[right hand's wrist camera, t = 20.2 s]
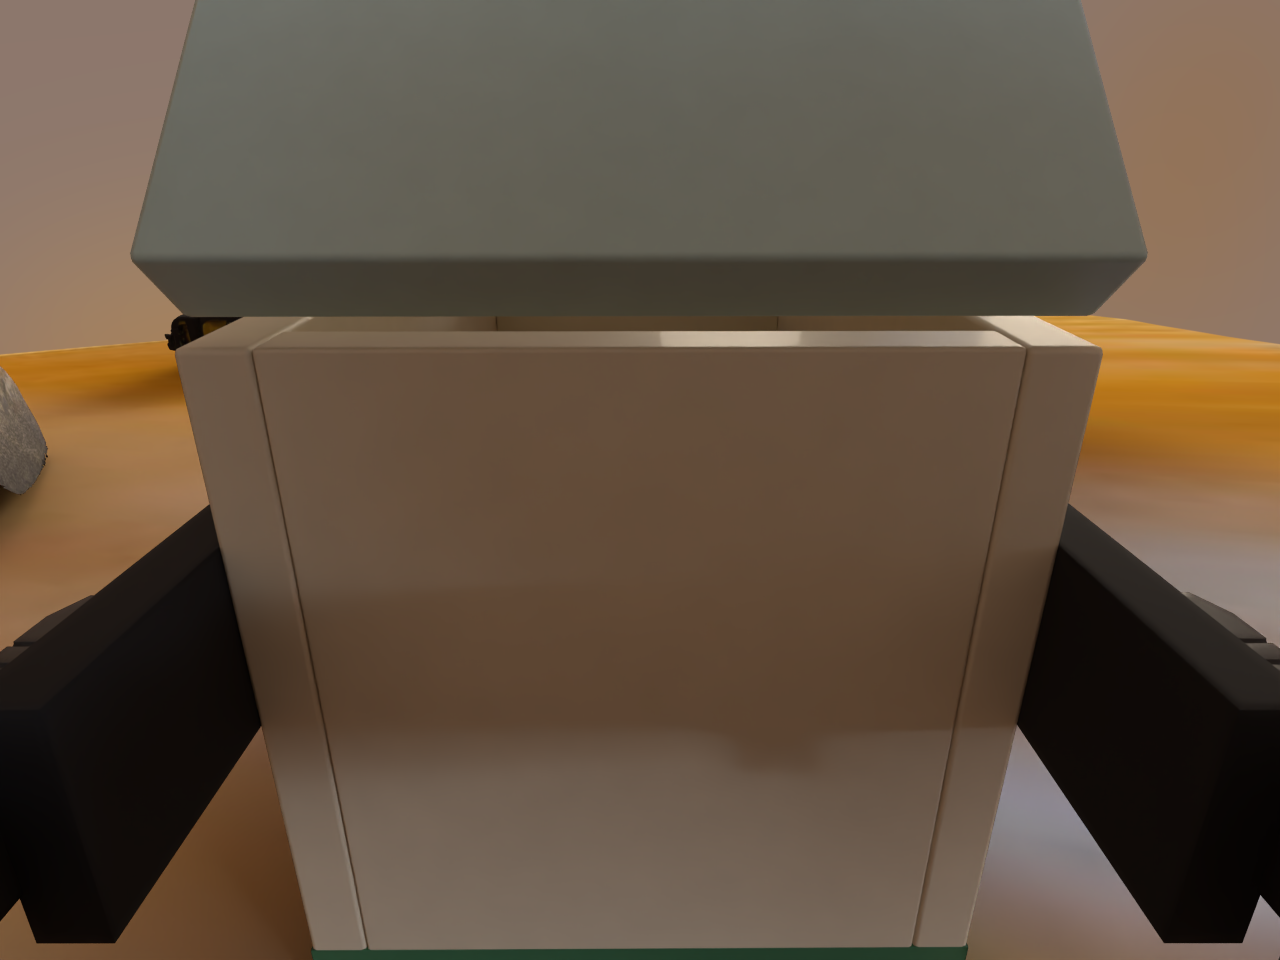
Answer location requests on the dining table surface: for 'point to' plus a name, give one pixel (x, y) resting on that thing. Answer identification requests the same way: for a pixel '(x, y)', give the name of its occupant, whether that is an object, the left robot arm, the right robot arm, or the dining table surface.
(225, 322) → the tape measure
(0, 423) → the rock
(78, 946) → the dining table surface
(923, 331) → the chest
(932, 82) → the lid
